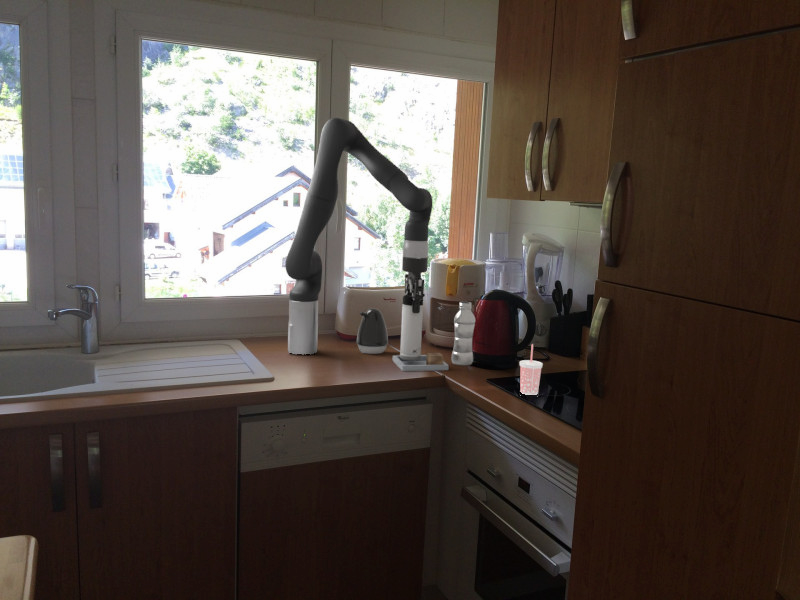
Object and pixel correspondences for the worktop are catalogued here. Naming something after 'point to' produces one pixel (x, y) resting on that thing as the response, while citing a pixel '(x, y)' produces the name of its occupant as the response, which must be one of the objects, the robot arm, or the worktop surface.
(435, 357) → the walnut block
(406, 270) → the robot arm
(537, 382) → the beverage cup
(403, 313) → the travel mug
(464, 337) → the plastic bottle
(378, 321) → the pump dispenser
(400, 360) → the tray
